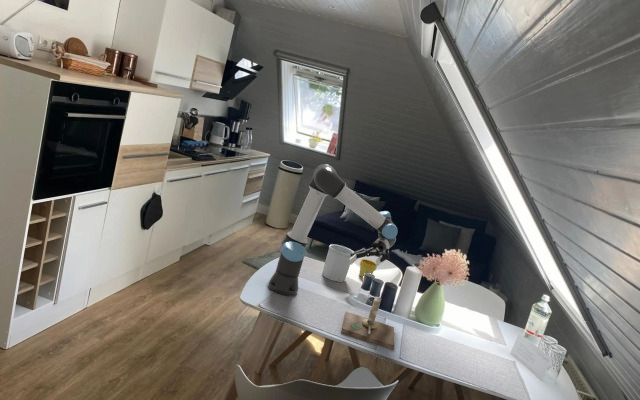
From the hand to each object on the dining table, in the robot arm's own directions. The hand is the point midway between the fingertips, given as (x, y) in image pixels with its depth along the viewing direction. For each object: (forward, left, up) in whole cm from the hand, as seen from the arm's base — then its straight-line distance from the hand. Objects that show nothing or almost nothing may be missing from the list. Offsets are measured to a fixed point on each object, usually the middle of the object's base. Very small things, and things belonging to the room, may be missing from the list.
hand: (363, 262), depth 235 cm
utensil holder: (-12, +49, -28) cm, 58 cm away
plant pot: (+6, +67, -28) cm, 73 cm away
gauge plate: (+11, -10, -28) cm, 31 cm away
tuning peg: (+11, -12, -25) cm, 30 cm away
